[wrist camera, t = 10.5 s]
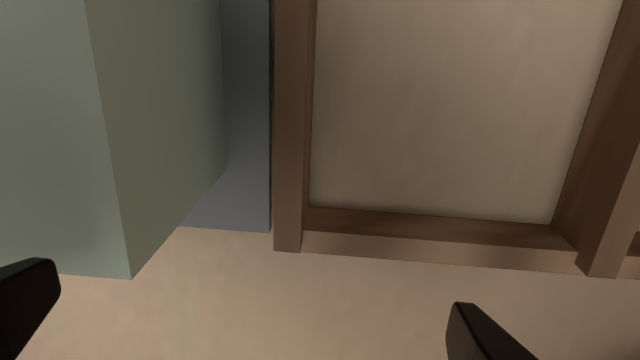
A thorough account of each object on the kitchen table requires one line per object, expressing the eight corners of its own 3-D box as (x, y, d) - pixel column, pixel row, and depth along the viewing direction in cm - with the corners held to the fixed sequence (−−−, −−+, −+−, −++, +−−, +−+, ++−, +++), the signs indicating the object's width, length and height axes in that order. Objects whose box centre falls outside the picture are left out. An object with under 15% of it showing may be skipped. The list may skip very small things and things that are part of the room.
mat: (271, -238, 13) (268, -247, 13) (271, 228, 21) (269, 233, 20) (44, -243, 14) (33, -253, 13) (122, 216, 21) (117, 220, 20)
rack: (1037, -294, 12) (1303, -419, 8) (730, 260, 19) (807, 306, 16) (288, -305, 13) (268, -419, 9) (281, 224, 20) (269, 261, 17)
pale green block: (213, -126, 14) (25, -338, 6) (227, 168, 19) (131, 279, 11) (111, -130, 14) (-209, -342, 6) (149, 162, 19) (-5, 267, 11)
